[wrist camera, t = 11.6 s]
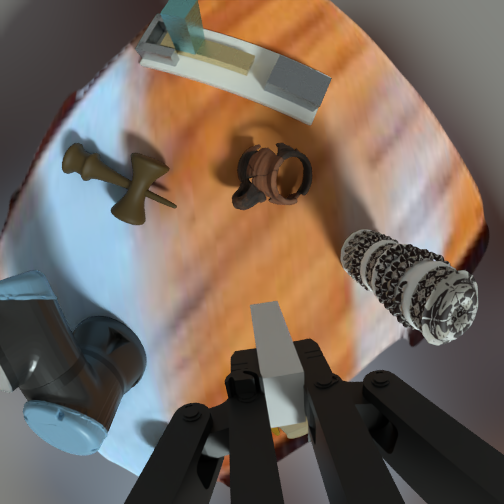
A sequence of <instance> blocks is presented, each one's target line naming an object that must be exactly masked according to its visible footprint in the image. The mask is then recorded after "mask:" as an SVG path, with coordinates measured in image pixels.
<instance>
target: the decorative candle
mask: <svg viewBox="0 0 504 504" xmlns="http://www.w3.org/2000/svg"><path fill="white" fill-rule="evenodd" d="M433 259H435V260H436V261H433ZM340 260H341V263H342V266H343V269H344V270H345V271H346V272H347V273H348V275H350V276H351V277H352V278H353V279H354V280H356V282H357V283H360V285H361V286H363V287H365V289H366V290H370V291H372V292H373V293H374V295H375V296H376V297H377V298H378V299H379V302H380V303H384V307H385V308H386V309H389V311H390V313H391V314H392V315H393V316H396V317H397V320H398V322H399V323H403V326H404V327H410V326H411V328H412V330H415V329H417V330H418V331H419V332H422V333H423V335H424V337H425V338H426V340H427V341H428V343H431V344H434V345H442V344H446V343H449V342H450V341H452V340H454V339H457V338H458V337H460V336H461V335H462V334H464V333H465V332H466V330H467V329H468V328H469V327H470V326H471V324H472V322H473V320H474V318H475V316H476V312H477V308H478V289H477V284H476V281H475V279H474V277H473V275H471V274H470V273H468V272H467V271H457V270H456V269H454V268H453V267H451V266H450V263H449V262H448V261H444V258H443V256H441V255H436V254H435V253H433V252H429V251H428V250H427V249H419V248H417V247H413V246H412V245H411V244H408V245H407V244H399V243H398V241H397V240H394V239H393V240H392V238H390V237H389V236H385V235H384V234H380V233H379V232H376V231H373V230H359V231H356V232H354V233H352V234H351V235H350V236H349V237H348V238H347V239H346V240H345V242H344V244H343V247H342V249H341V258H340ZM394 308H395V309H394ZM404 319H405V320H404ZM406 320H407V321H406Z"/></svg>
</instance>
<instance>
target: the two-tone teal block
mask: <svg viewBox="0 0 504 504" xmlns="http://www.w3.org/2000/svg"><path fill="white" fill-rule="evenodd" d="M160 14H161V17H162V19H163V21H164V24H165V26H166V28H167V31H168V32H167V34H166V35H165V37H164V39H163V40H162V42H161V44H160V46H164V47H168V48H172V49H175V50H176V53H177V54H179V55H182V56H186V57H190V58H193V59H197V60H200V61H204V62H207V63H210V64H213V65H216V66H219V67H222V68H225V69H228V70H231V71H234V72H237V73H240V74H243V75H245V76H247V75H248V73H249V71H250V69H251V67H252V65H253V63H254V60H255V55H252V54H249V53H246V52H243V51H240V50H238V49H235V48H231V47H228V46H225V45H222V44H219V43H215V42H212V41H208V40H205V36H204V31H203V26H202V20H201V15H200V9H199V4H198V0H169V1H168V3H167V4H166V6H165V7H164V9H163V10H162V11H161V13H160Z"/></svg>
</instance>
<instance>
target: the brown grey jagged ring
mask: <svg viewBox="0 0 504 504" xmlns="http://www.w3.org/2000/svg"><path fill="white" fill-rule="evenodd" d="M276 146H277V147H278V153H277V155H275V153H274V152H272V151H271V150H270V149H269V148H262V149H260V150H259V151H257V149H259V148H260V147H261V146H260V145H255V146H252V147H250V148H249V149H247V150H246V151H245V152H244V154H243V155H242V156H241V158H240V160H239V163H238V169H237V171H238V177H239V180H240V181H241V184H240V187H239V188H238V190H237V191H236V192H235V193H234V194H233V196H232V203H233V206H234V207H235V208H236V209H240V210H247V209H249V208H251V207H253V206H254V205H255V204H257V203H258V202H264V201H265V200H266V196H268V197H270V199H269V202H272V203H275V204H279V205H293V204H295V203H297V198H298V197H299V196H300V194H302V195H306V194H307V193H308V191H309V189H310V186H311V182H312V167H311V164H310V161H309V160H308V158H307V157H306V156H305V155H304V154H302V153H300V152H299V151H298V150H297V149H295V150H294V149H293V148H291V147H290V146H288V145H285V144H284V143H277V144H276ZM255 150H256V151H255ZM289 157H297V158H299V159H300V161H301V162H302V164H303V168H304V169H303V181H302V184H301V186H300V188H299V189H298V191H297V192H296V193H293V194H289V195H288V196H287V198H284V197H282V196H281V195H280V194H279V192H278V190H277V185H276V177H277V172H278V169H279V167H280V166H281V164H282V163H283V162H284V160H286V159H287V158H289ZM252 177H253V179H252V183H251V182H250V180H249V178H252ZM265 195H266V196H265Z"/></svg>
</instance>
